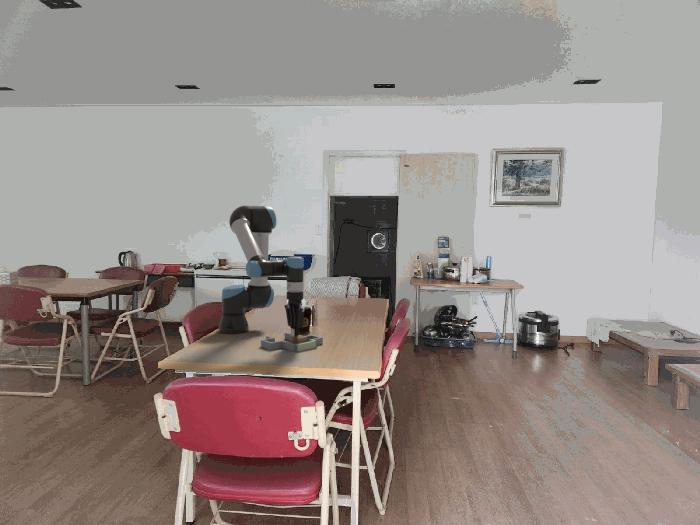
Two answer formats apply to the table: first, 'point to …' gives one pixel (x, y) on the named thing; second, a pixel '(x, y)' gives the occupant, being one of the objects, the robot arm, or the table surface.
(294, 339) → the walnut block
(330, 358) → the table surface
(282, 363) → the table surface
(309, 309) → the coffee cup
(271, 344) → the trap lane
